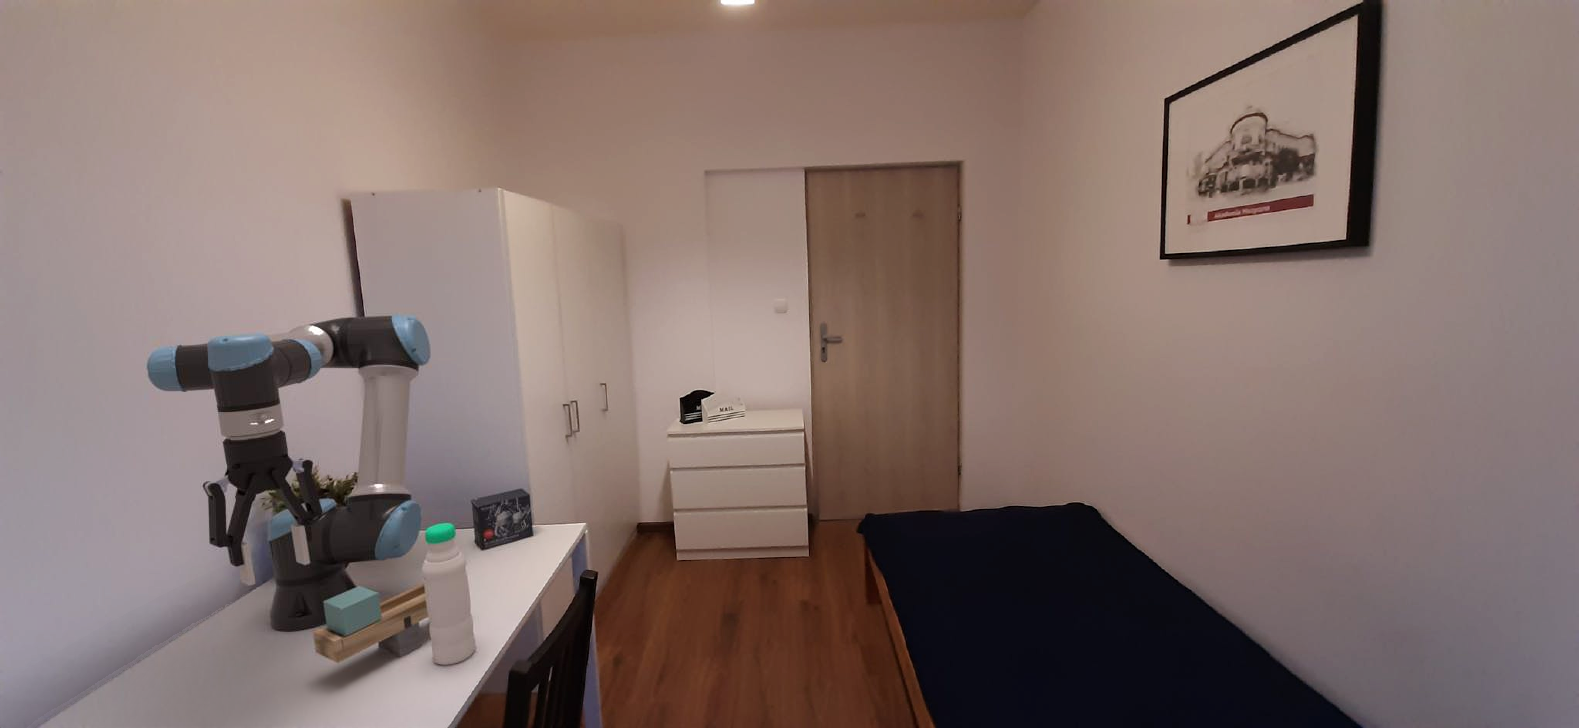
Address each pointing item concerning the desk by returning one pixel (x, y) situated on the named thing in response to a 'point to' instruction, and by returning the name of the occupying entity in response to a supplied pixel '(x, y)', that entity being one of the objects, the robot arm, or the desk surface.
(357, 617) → the block
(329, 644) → the beam
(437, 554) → the white bottle
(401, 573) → the desk surface
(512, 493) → the small box
